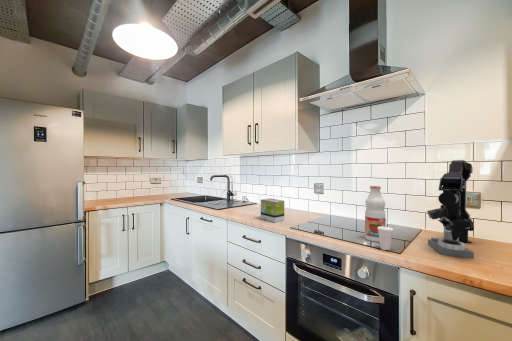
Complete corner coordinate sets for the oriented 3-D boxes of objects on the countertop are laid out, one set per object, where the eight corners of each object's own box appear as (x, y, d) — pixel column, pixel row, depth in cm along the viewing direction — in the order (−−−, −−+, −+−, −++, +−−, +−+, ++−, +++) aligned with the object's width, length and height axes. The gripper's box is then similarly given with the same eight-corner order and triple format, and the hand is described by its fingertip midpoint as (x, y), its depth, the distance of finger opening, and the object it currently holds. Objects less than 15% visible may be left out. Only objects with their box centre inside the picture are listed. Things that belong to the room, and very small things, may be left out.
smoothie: (394, 248, 101) (394, 218, 101) (391, 252, 96) (392, 221, 96) (379, 245, 105) (379, 216, 105) (375, 249, 100) (375, 218, 100)
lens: (441, 242, 100) (441, 224, 100) (455, 243, 99) (455, 225, 99) (446, 246, 96) (447, 227, 96) (461, 247, 94) (461, 228, 94)
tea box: (260, 219, 159) (260, 199, 159) (269, 217, 166) (269, 198, 166) (275, 223, 148) (275, 201, 148) (284, 221, 154) (284, 200, 154)
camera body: (427, 244, 107) (428, 235, 107) (455, 247, 104) (455, 237, 104) (441, 254, 94) (441, 244, 94) (473, 258, 91) (473, 247, 91)
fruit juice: (377, 236, 119) (378, 185, 119) (389, 242, 110) (390, 187, 110) (361, 236, 119) (361, 185, 119) (371, 242, 109) (372, 186, 109)
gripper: (421, 199, 109) (421, 231, 109) (439, 205, 91) (438, 243, 91) (449, 201, 105) (449, 233, 105) (473, 207, 87) (472, 246, 87)
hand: (451, 238), depth 97 cm, fingers closed on lens, 5 cm apart
